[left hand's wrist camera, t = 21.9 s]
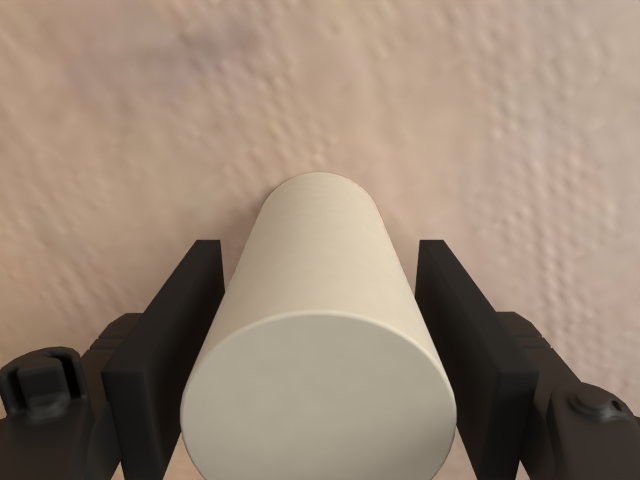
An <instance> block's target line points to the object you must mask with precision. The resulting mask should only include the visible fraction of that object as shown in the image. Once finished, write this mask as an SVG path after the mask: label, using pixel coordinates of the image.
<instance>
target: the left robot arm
mask: <svg viewBox="0 0 640 480" xmlns="http://www.w3.org/2000/svg"><path fill="white" fill-rule="evenodd" d="M224 294H225V287H224V276H223V265H222V254H221V243H220V240H196V242H195V243H194V244H193V246H192V247H191V248H190V250H189V251H188V253H187V254H186V255H185V257H184V258H183V259H182V261H181V262H180V263H179V265H178V266H177V268H176V269H175V270H174V272H173V273H172V274H171V276H170V277H169V278H168V280H167V281H166V283H165V284H164V285H163V287H162V288H161V289H160V291H159V292H158V294H157V295H156V296H155V298H154V299H153V300H152V302H151V303H150V304H149V306H148V307H147V309H146V310H145V311H144V313H126V314H124V315H122V316H121V317H119V318H118V319H116V320H115V321H113V322H111V323H110V324H109V325H108V326H107V327H106V328H105V330H104V331H103V332H102V333H101V334H100V336H99V339H96V340H95V342H94V343H93V344H92V345H91V346H90V350H87V351H86V352H85V354H84V355H83V356H82V357H81V358H80V354H79V353H78V352H77V351H75V350H74V349H72V348H67V347H48V348H44V349H40V350H36V351H32V352H29V353H27V354H25V355H22V356H20V357H18V358H16V359H14V360H13V361H11V362H10V363H8V364H7V365H5V366H4V367H2V368H1V370H0V396H1V399H2V401H3V404H4V407H5V410H6V413H7V416H6V418H3V419H0V480H111V478H112V476H113V474H114V472H115V470H116V468H117V466H118V465H119V463H120V461H121V466H122V470H123V474H124V479H125V480H163V477H164V475H165V472H166V470H167V467H168V464H169V462H170V459H171V457H172V454H173V451H174V449H175V446H176V444H177V441H178V438H179V436H180V433H181V425H180V406H181V401H182V396H183V392H184V389H185V386H186V384H187V381H188V378H189V376H190V374H191V371H192V369H193V367H194V364H195V362H196V360H197V357H198V355H199V353H200V350H201V348H202V346H203V343H204V341H205V339H206V336H207V334H208V332H209V329H210V327H211V325H212V322H213V320H214V318H215V315H216V313H217V311H218V308H219V306H220V304H221V301H222V299H223V297H224ZM415 301H416V303H417V305H418V308H419V310H420V313H421V315H422V317H423V320H424V322H425V325H426V327H427V329H428V332H429V334H430V337H431V339H432V341H433V344H434V346H435V349H436V351H437V353H438V356H439V358H440V361H441V363H442V365H443V368H444V370H445V373H446V375H447V377H448V380H449V382H450V385H451V388H452V390H453V393H454V398H455V403H456V418H457V422H456V425H457V428H458V431H459V433H460V436H461V438H462V441H463V444H464V446H465V449H466V451H467V454H468V457H469V459H470V462H471V464H472V467H473V470H474V472H475V475H476V477H477V480H515V479H516V474H517V470H518V466H519V461H520V460H521V462H522V464H523V466H524V468H525V470H526V472H527V474H528V476H529V478H530V480H640V417H636V416H634V415H633V413H632V412H631V410H630V409H629V408H628V406H627V405H626V404H625V403H624V402H623V401H621V400H620V399H619V398H618V397H616V396H615V395H614V394H612V393H610V392H608V391H606V390H604V389H602V388H600V387H597V386H594V385H590V384H587V383H584V382H581V381H580V380H579V379H578V378H577V376H576V375H575V374H574V373H573V372H572V371H571V369H570V368H569V367H568V366H567V365H566V363H565V362H564V361H563V360H562V359H561V357H560V356H559V355H558V354H557V353H556V352H555V350H554V349H553V348H551V347H550V344H549V343H548V342H547V341H546V340H545V338H542V335H541V334H540V333H539V331H538V330H537V329H536V328H535V327H534V325H533V324H532V323H531V322H529V321H528V320H526V319H525V318H523V317H522V316H520V315H518V314H517V313H515V312H496V311H495V310H494V309H493V307H492V306H491V304H490V303H489V302H488V300H487V299H486V298H485V296H484V295H483V293H482V292H481V291H480V289H479V288H478V287H477V285H476V284H475V283H474V281H473V280H472V278H471V277H470V276H469V274H468V273H467V272H466V270H465V269H464V268H463V266H462V265H461V263H460V262H459V261H458V259H457V258H456V257H455V255H454V254H453V253H452V251H451V250H450V248H449V247H448V246H447V244H446V243H445V242H444V240H420V243H419V254H418V265H417V276H416V287H415Z"/></svg>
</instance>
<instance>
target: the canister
mask: <svg viewBox="0 0 640 480" xmlns="http://www.w3.org/2000/svg"><path fill="white" fill-rule="evenodd" d="M456 422H457V418H456V403H455V398H454V393H453V390H452V388H451V385H450V382H449V380H448V377H447V375H446V373H445V370H444V368H443V365H442V363H441V361H440V358H439V356H438V353H437V351H436V349H435V346H434V344H433V341H432V339H431V337H430V334H429V332H428V329H427V327H426V325H425V322H424V320H423V317H422V315H421V313H420V310H419V308H418V305H417V303H416V301H415V298H414V296H413V293H412V291H411V289H410V286H409V284H408V281H407V279H406V277H405V274H404V272H403V269H402V267H401V265H400V262H399V260H398V257H397V255H396V253H395V250H394V248H393V245H392V243H391V241H390V238H389V236H388V233H387V231H386V229H385V226H384V224H383V221H382V219H381V217H380V214H379V212H378V209H377V207H376V205H375V204H374V202H373V200H372V199H371V197H370V196H369V195H368V194H367V193H366V192H365V191H364V190H363V189H362V188H361V187H360V186H359V185H357V184H356V183H355V182H353V181H351V180H349V179H347V178H345V177H342V176H340V175H336V174H332V173H325V172H314V173H306V174H302V175H299V176H296V177H294V178H291V179H289V180H287V181H286V182H284V183H282V184H281V185H280V186H278V187H277V188H276V189H275V190H274V191H273V192H272V193H271V194H270V195H269V197H268V198H267V199H266V201H265V202H264V204H263V206H262V208H261V210H260V213H259V215H258V217H257V220H256V222H255V224H254V227H253V229H252V231H251V234H250V236H249V238H248V241H247V243H246V245H245V248H244V250H243V252H242V255H241V257H240V259H239V262H238V264H237V266H236V269H235V271H234V273H233V276H232V278H231V280H230V283H229V285H228V287H227V290H226V292H225V294H224V297H223V299H222V301H221V304H220V306H219V308H218V311H217V313H216V315H215V318H214V320H213V322H212V325H211V327H210V329H209V332H208V334H207V336H206V339H205V341H204V343H203V346H202V348H201V350H200V353H199V355H198V357H197V360H196V362H195V364H194V367H193V369H192V371H191V374H190V376H189V378H188V381H187V384H186V386H185V389H184V392H183V396H182V401H181V406H180V425H181V431H182V438H183V441H184V444H185V447H186V450H187V453H188V455H189V456H190V458H191V460H192V462H193V464H194V466H195V467H196V468H197V470H198V471H199V473H200V474H201V476H202V477H203V478H204V479H205V480H432V479H433V477H434V476H435V475H436V474H437V472H438V471H439V470H440V468H441V467H442V465H443V464H444V462H445V460H446V458H447V456H448V454H449V452H450V449H451V446H452V443H453V440H454V436H455V429H456Z"/></svg>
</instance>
